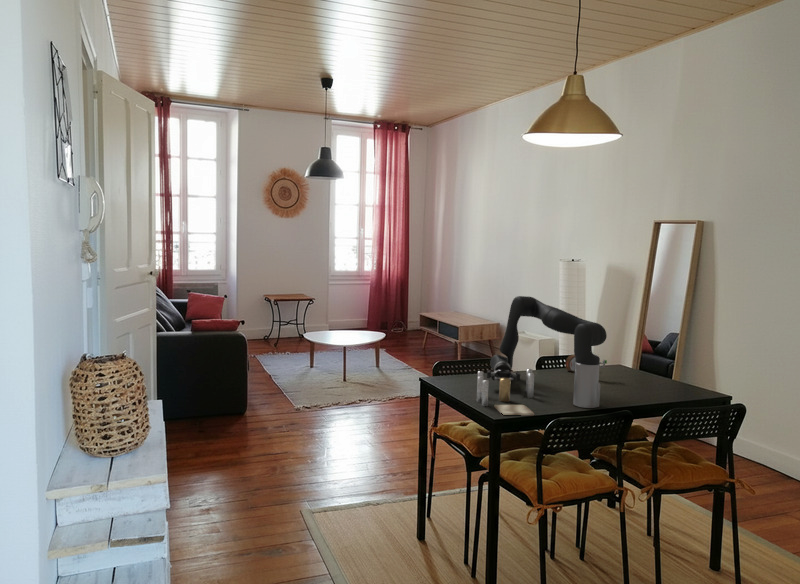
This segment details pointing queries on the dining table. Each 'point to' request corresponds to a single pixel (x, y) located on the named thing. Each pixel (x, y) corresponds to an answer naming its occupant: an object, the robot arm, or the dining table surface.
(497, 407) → the birch pad
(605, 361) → the mechanical component
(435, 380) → the dining table surface
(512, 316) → the robot arm
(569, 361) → the tin
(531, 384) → the steel posts
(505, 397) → the bronze spacer
